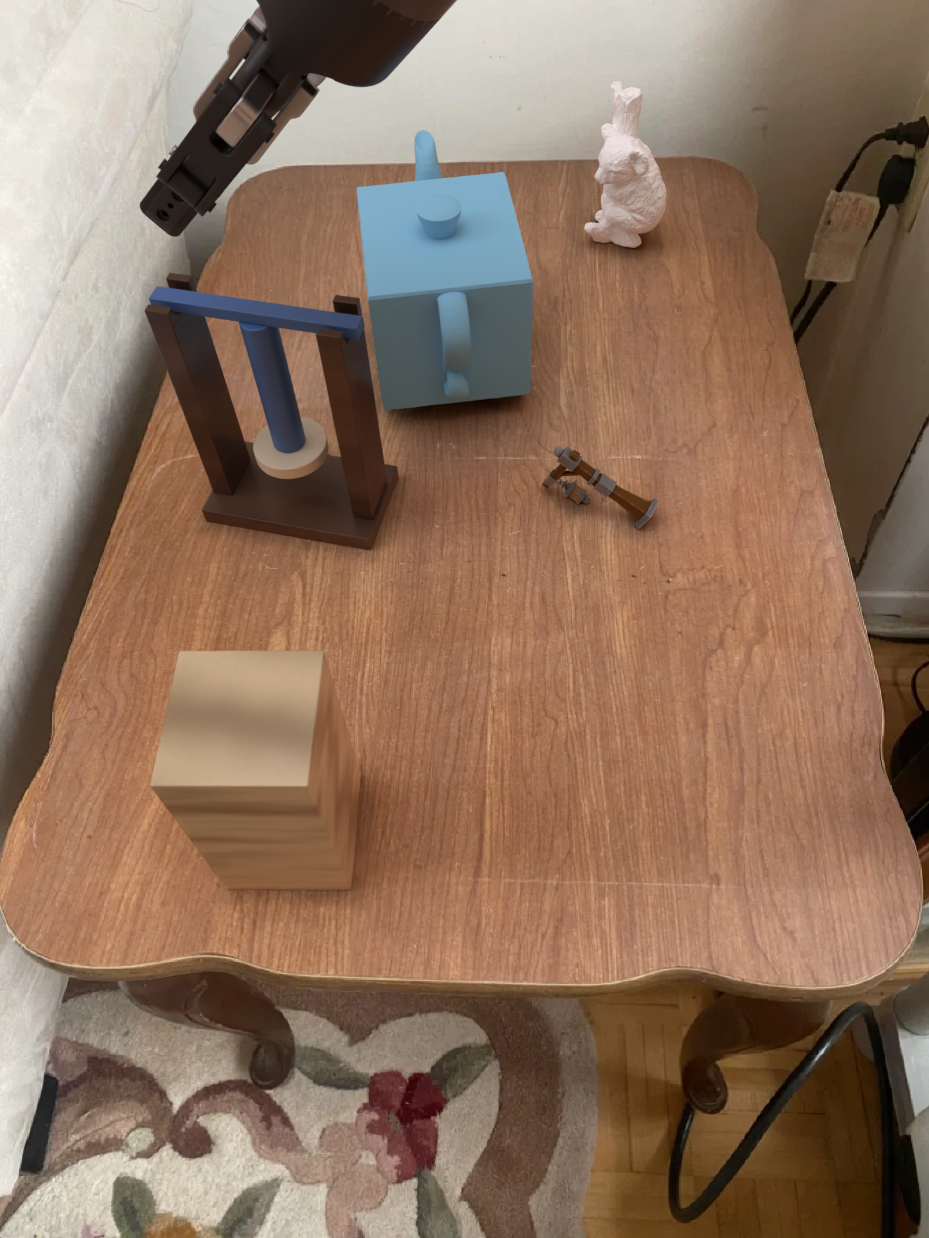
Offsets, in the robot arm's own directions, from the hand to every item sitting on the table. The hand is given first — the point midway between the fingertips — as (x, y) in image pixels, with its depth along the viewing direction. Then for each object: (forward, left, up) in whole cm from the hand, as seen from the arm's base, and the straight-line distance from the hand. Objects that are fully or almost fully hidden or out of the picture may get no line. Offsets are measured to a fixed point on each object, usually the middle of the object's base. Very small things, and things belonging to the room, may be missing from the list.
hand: (193, 172), depth 49 cm
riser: (-16, -20, -25) cm, 36 cm away
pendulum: (+1, -1, -20) cm, 20 cm away
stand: (+1, -1, -25) cm, 25 cm away
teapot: (+19, +3, -25) cm, 32 cm away
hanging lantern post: (+14, -17, -25) cm, 34 cm away
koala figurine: (+40, +2, -25) cm, 47 cm away
